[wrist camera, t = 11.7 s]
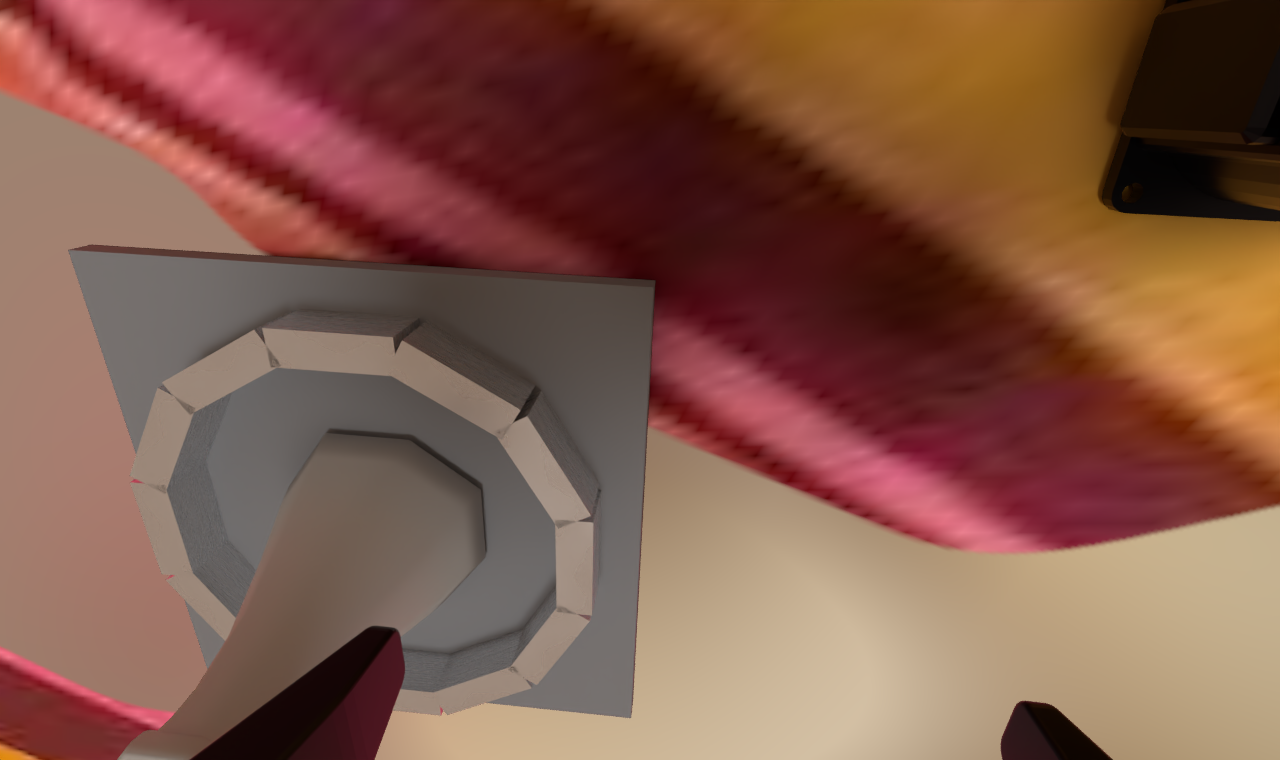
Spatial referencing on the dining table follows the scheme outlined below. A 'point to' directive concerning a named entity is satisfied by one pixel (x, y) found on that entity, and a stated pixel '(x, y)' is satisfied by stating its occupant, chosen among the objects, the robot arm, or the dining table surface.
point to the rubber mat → (411, 420)
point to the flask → (333, 577)
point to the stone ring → (440, 370)
